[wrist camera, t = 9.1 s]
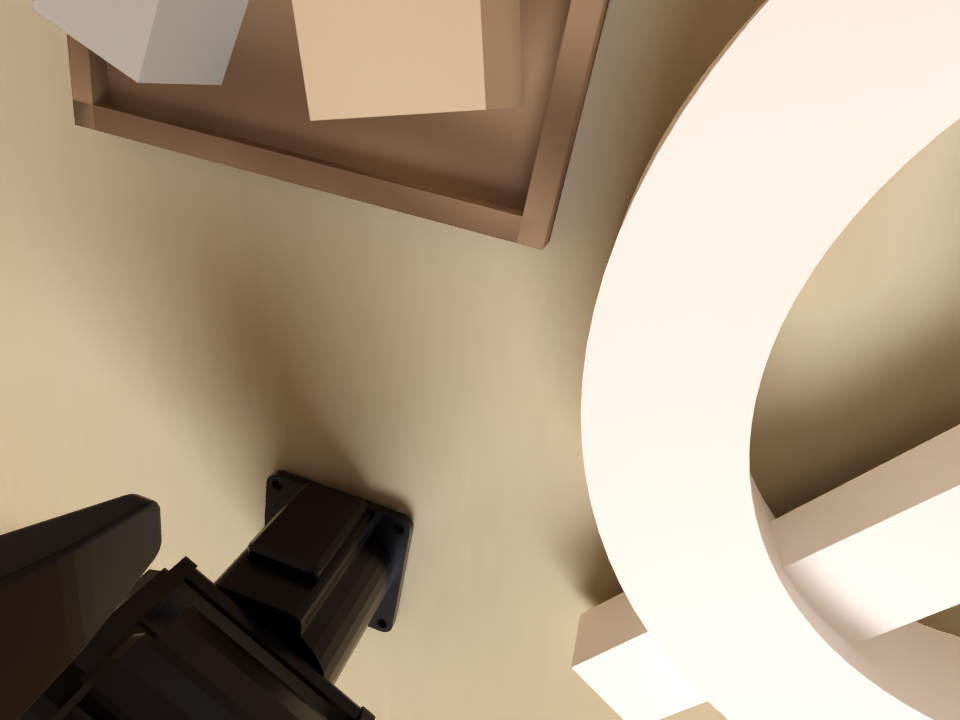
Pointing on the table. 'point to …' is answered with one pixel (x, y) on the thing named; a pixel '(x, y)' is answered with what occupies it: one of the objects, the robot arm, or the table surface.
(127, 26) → the beige cube
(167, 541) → the table surface
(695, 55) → the table surface
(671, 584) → the ring with crossbar
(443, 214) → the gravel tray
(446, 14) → the tan cube
